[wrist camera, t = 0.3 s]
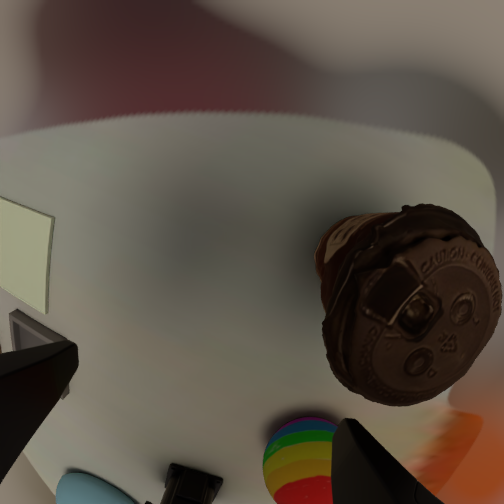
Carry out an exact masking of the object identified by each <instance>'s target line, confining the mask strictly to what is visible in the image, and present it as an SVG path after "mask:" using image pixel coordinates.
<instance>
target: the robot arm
mask: <svg viewBox="0 0 504 504" xmlns="http://www.w3.org/2000/svg"><path fill="white" fill-rule="evenodd" d="M78 365H79V359H78V346H77V344H76V343H74V342H72V341H70V340H62V341H57V342H53V343H48V344H44V345H39V346H35V347H30V348H25V349H21V350H16V351H11V352H6V353H1V354H0V484H1V482H2V480H3V479H4V477H5V476H6V474H7V473H8V471H9V470H10V468H11V467H12V465H13V464H14V462H15V461H16V459H17V458H18V456H19V455H20V453H21V452H22V450H23V449H24V448H25V446H26V445H27V443H28V442H29V440H30V439H31V438H32V436H33V435H34V433H35V432H36V431H37V429H38V428H39V426H40V425H41V424H42V422H43V421H44V419H45V418H46V417H47V415H48V414H49V413H50V411H51V410H52V409H53V407H54V406H55V405H56V403H57V402H58V400H59V399H60V397H61V396H62V394H63V392H64V391H65V389H66V387H67V385H68V384H69V382H70V380H71V379H72V377H73V375H74V374H75V372H76V370H77V368H78ZM222 483H223V479H221V478H218V477H215V476H211V475H207V474H204V473H200V472H197V471H194V470H191V469H187V468H184V467H181V466H178V465H175V464H170V466H169V469H168V474H167V478H166V483H165V488H166V490H165V492H164V495H163V498H162V500H161V503H160V504H212V502H213V500H214V498H215V497H216V495H217V493H218V491H219V489H220V487H221V485H222ZM331 486H332V499H333V504H444V503H443V502H442V501H441V500H439V499H438V498H437V497H435V496H434V495H433V494H432V493H431V492H430V491H429V490H427V489H426V488H425V487H424V486H423V485H422V484H421V483H420V482H419V481H417V479H416V478H415V477H414V476H413V475H411V474H410V473H409V472H408V471H407V470H406V469H405V468H404V467H403V466H402V465H401V464H400V463H399V462H398V461H397V460H396V459H395V458H394V457H393V456H392V455H391V454H390V453H389V452H388V451H387V450H386V449H385V448H384V447H383V446H382V445H381V444H380V443H379V442H378V441H377V440H376V439H375V438H374V437H373V436H372V435H371V434H370V433H369V432H368V431H367V430H366V429H365V428H364V427H363V426H362V425H361V424H360V423H359V422H358V421H357V420H356V419H351V418H344V419H343V420H342V421H341V423H340V424H339V426H338V428H337V429H336V431H335V433H334V435H333V438H332V459H331ZM145 504H152V503H151V502H149V501H146V503H145Z"/></svg>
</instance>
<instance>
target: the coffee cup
mask: <svg viewBox="0 0 504 504" xmlns="http://www.w3.org/2000/svg"><path fill="white" fill-rule="evenodd" d="M314 260H315V263H316V272H317V274H318V276H319V277H320V281H321V300H322V304H323V308H324V311H325V313H326V316H325V319H324V321H323V322H322V325H323V327H322V333H323V334H322V336H323V340H324V345H325V347H326V350H327V354H326V357H327V359H328V361H329V364H330V368H331V370H332V371H333V374H334V375H335V377H336V378H337V379H338V380H339V381H340V382H341V383H342V385H343V386H345V387H346V388H348V390H349V391H352V392H354V393H356V394H360V395H362V396H363V397H364V398H365V399H368V400H370V401H372V402H377V403H380V404H384V405H388V406H410V405H414V404H417V403H420V402H423V401H427V400H430V399H432V398H434V397H436V396H437V395H439V394H440V393H441V392H443V391H445V390H446V389H448V388H449V387H450V386H452V385H453V384H454V383H455V382H456V381H458V380H459V379H460V378H461V377H463V376H464V375H465V374H466V373H467V371H468V370H469V368H470V367H471V366H472V364H473V362H474V361H475V359H476V358H477V356H478V355H479V354H480V352H481V351H482V350H483V348H484V347H485V346H486V344H487V343H488V341H489V340H490V338H491V337H492V335H493V333H494V330H495V328H496V326H497V323H498V319H499V317H500V315H501V310H502V309H501V303H502V301H501V300H502V290H501V283H500V281H499V270H498V269H497V267H496V265H495V262H494V259H493V257H492V255H491V254H490V252H489V251H488V250H487V248H485V247H484V245H483V243H482V242H481V240H480V237H479V235H478V234H477V232H476V231H475V230H474V229H473V228H472V227H471V226H470V225H469V224H468V223H467V222H466V221H465V220H464V219H463V218H462V217H460V216H459V215H457V214H456V213H454V212H453V211H452V210H448V209H446V208H443V207H441V206H435V205H433V204H426V205H425V204H423V203H422V204H418V205H416V206H409V205H404V206H402V211H401V212H395V213H376V214H374V213H370V214H364V215H360V216H350V217H346V218H345V219H343V220H341V221H339V222H337V223H336V224H334V225H333V226H332V227H331V228H330V229H329V230H328V231H327V232H326V233H325V234H324V235H323V236H322V237H321V239H320V242H319V245H318V247H317V249H316V251H315V253H314Z"/></svg>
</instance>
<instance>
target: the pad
mask: <svg viewBox="0 0 504 504" xmlns="http://www.w3.org/2000/svg"><path fill="white" fill-rule="evenodd" d="M54 220H55V218H54V217H51V216H49V215H46V214H43V213H41V212H38V211H36V210H33V209H30V208H28V207H25V206H23V205H20V204H18V203H15V202H12V201H10V200H7V199H5V198H2V197H0V287H2V288H3V289H4V290H6V291H8V292H9V293H11V294H12V295H14V296H15V297H17V298H18V299H20V300H22V301H23V302H25V303H26V304H28V305H30V306H31V307H33V308H35V309H36V310H38V311H40V312H41V313H43V314H45V315H46V314H47V313H48V288H49V268H50V255H51V245H52V235H53V227H54Z"/></svg>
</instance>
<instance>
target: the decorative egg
mask: <svg viewBox="0 0 504 504" xmlns="http://www.w3.org/2000/svg"><path fill="white" fill-rule="evenodd" d="M337 428H338V426H336V425H335V424H333V423H332V422H330V421H328V420H325V419H322V418H318V417H303V418H298V419H295V420H293V421H290V422H288V423H287V424H285V425H284V426H282V427H281V428H280V429H279V430H278V431H277V432H276V433H275V434H274V435H273V436H272V438H271V439H270V441H269V443H268V445H267V447H266V449H265V453H264V458H263V475H264V480H265V484H266V486H267V489H268V491H269V493H270V495H271V496H272V498H273V499H274V500H275V502H276V503H277V504H333V499H332V486H331V459H332V438H333V435H334V433H335V431H336V429H337Z"/></svg>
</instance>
